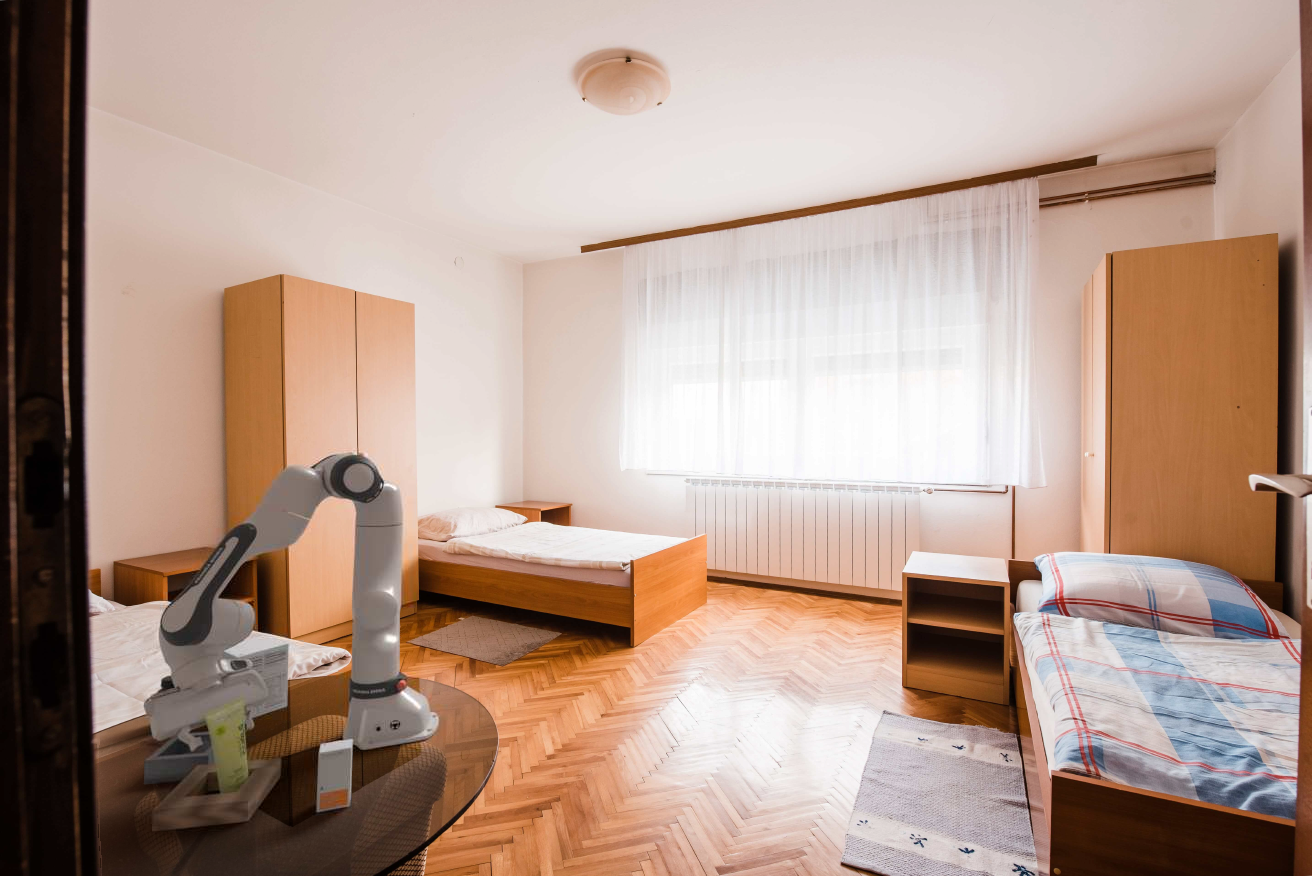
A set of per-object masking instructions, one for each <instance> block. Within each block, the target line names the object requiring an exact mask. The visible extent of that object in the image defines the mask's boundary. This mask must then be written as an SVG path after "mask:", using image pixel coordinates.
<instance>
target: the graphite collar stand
mask: <svg viewBox="0 0 1312 876" xmlns="http://www.w3.org/2000/svg"><path fill="white" fill-rule="evenodd" d="M189 734H191V735H192V736H194V737H195V738H198V737H201V741H202V742H203V746H202V747H201V748H200V749H197V750H195V751H191V749H190V746H189V744H186V743H185V742H183V741H181V740H179V738H178V735H175V736H172V737H170V739H169V740H168V741H166V743H164V744H163V745H162V746H161V747H159V748H158V749H157V750H155V752H153V753H152V754H151V755H150V756H149V757H147V758H146V759H145V760H144V767H143V768H144V770H143V773H144V774H143V779H144V780H143V785H151V784H152V785H153V784H163V783H164V784H165V783H172V782H174V783H175V782H182V781H183V780H184V779H185V778H186V777H187V776H188V775H189V774H190V773H191V772H192V771H193V770H194V769H195V768H196V767H197V766H198V765H207V764H215V759H214V754H213V749H212V744H211V739H210V735H209V731H202V732H201V731H199V732H197V731H196V732H189Z"/></svg>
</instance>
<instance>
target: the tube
mask: <svg viewBox="0 0 1312 876" xmlns="http://www.w3.org/2000/svg"><path fill="white" fill-rule="evenodd" d="M205 720H206V723H207V725H206V726H207V732H209V735H210V739H211V744H212V749H213V754H214V759H215V764H216V770H217V776H218V782H219V789H220V791H219V794H223V793H233V792H237V791H238V790H239V788H240V787H241V786H242V785H243V784H244V782H245V781H246V780H247V779H248V777H249V776H248V765H247V761H248V755H247V754H248V753H247V742H246V739H247V738H246V731H245V717H244V696H243V697H241V698H239V699H237V700H235V701H233V702H231V703H228V704H226V705H224V706H222V707H220V708H218V709H216V710H214V711H212V712H210V713H207V714H205Z"/></svg>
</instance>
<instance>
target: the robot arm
mask: <svg viewBox="0 0 1312 876" xmlns="http://www.w3.org/2000/svg"><path fill="white" fill-rule="evenodd" d="M329 497H333V498H336V499H341V500H346V499H347V500H350V501H351V502H352V503H353V505H354V508H355V509H354V510H355V521H354V524H355V527H354V556H353V557H354V559H353V573H352V574H353V577H352V596H351V611H352V616H353V617H352V618H353V619H352V621H353V623H352V642H351V643H352V644H351V677H350V678H349V681H348V682H349V683H348V702H349V707H348V714H347V720H346V724H345V727H344V731H343V733H342V740H349V739H353V746H356V747H358V749H360V750H363V751H364V750H372V749H377V748H383V747H388V746H396V745H402V744H406V743H407V744H408V743H412V742H413V743H414V742H418V741H423V740H427V739H429V738H430V737H432V736H434V734H435V733H436V732H437V729H439V725H440V719H439V715H438V713H436V712H434V711H431V709H430V704H429V701H428V699H427V697H426V696H425V695H423V694H421V693H419V692H418V691H417V690H415V689H413V688H412V687H409V686H408V672H405V674H404V673H403V672H401V671H400V643H401V642H400V641H401V640H400V638H401V636H400V635H401V634H400V633H401V632H400V631H401V630H400V628H401V624H400V620H401V619H400V616H401V615H400V613H401V608H402V582H403V581H402V576H403V572H402V571H403V570H402V569H403V568H402V566H403V565H402V563H403V562H402V561H403V558H402V557H403V529H404V527H403V525H404V523H403V522H404V520H403V517H404V515H403V514H404V513H403V503H402V502H403V501H402V496H401V491H400V487H398V485H397V484H395V483H394V482H392V481H390V480H384V479H383V478H382V476H381V474H380V472H379V470H378V468H377V466H376V465H375V463H374V462H373V461H372V460H370V458H367V457H366V456H364V455H359V454H355V453H354V454H353V453H348V452H347V453H340V454H338V453H336V454H332V455H329V456H327V457H324V458H323V459H321V460H320V461H318V462H317V463H315V464H313V465H312V466H310V467H309V466H307V465H301V464H294V465H289V466H287V467H286V468H284V469H283V470H282V471H281V472H280V473H279V475H277V477H276V478H275V479H274V480H273V482H272V483H271V484H270V486H269V487H268V488H267V490H266V492H265V493H264V494H263V496H262V498H261V500H260V502H259V503H258V505H257V506H256V508H255V509H254V510H253V512H252V513H251V514H250V515H249V516H248V517H247V519H246V520H244V521H243V522H242V523H241V524H239V525H237V526H236V525H235V526H234V527H233V528H232V529H231V530H229V532H228V533H227V534H225V536H224V537H223V538H222V539H221V541H220V542H219V543H218V545H217V546H216V547H215V549H214V550H213V551H212V553H211V554H210V555H209V557H207V559H206V561H205V562H204V563H203V565H201V567H200V568H199V570H198V571H197V573H196V574H195V575H194V576H193V578H192V579H191V580H190V582H189V583H188V584H187V586H186V587H185V588H184V589H183V590H182V591H181V592H180V593H179V594H178V595H177V596H176V597H175V598H174V599H173V600H172V601H170V603H169V604H168V605H167V607H166V608H165V609H164V611H163V613H162V614H161V616H160V617H161V618H160V622H159V628H158V642H159V646H160V651H161V654H162V657H163V660H164V662H165V664H166V665H168V667H169V668H170V671H171V672H170V675H171V678H172V681H173V684H174V687H175V688H172V689H169V690H166V691H164V692H160V693H157V692H155V693H153V694H151V695H150V696H149V697H148V698H146V700H144V703H143V710H144V712H145V714H146V716H149V724H150V731H151V734H152V735H151V736H152V738H153V739H155V740H156V741H158V742H159V741H164V740H166V739H169V738H173V737H174V736H175V735H178V738H179V740H181V741H183V742H185V743H186V744H189V746H190V749H191V751H195V750H197V749H200V748H201V747H202V746H203V742H202V741H201V737H198V738H195V737H194V736H192V735H191V734H189V733H191V731H192V730H195V729H199V728H200V727H204V726H207V723H206V720H205V714H207V713H210V712H212V711H214V710H216V709H218V708H220V707H222V706H224V705H226V704H228V703H231V702H233V701H235V700H237V699H239V698H241V697H243V696H244V716H246V715H247V717H246V720H245V732H248V731H251V730H253V728H255V723H254V719H253V718H252V717H253V713H254V709H255V708H256V707H259V706H261V705H262V704H263V703H264V702H265V701H266V699H267V697H268V695H269V691H268V689H267V686H266V684H265V682H264V681H263V679H262V677H261V676H260V674H259V673H258V672H257V671H255V670H251V668H252V666H253V664H252V662H251V660H249V659H235V660H234V659H222V658H221V655H220V654H221V652H222V651H224V650H227V649H229V648H231V647H233V646H235V645H237V644H238V643H240V642H242V641H245V640H247V638H248V637H249V636H250V635H251V634H252V632H253V631H254V629H255V626H256V621H257V615H256V611H255V609H254V607H253V605H251V603H249V602H247V601H243V600H237V599H231V598H221V597H220V596H221V593H222V592H223V591H224V590H225V588H226V587H227V585H228V583H230V582H231V579H232V578H233V577H234V575H235V574H236V573H237V571H239V569H240V567H241V566H242V565H243V564H245V562H247V561H248V560H250V559H251V558H253V557H256V556H258V555H261V554H264V553H270V552H275V551H280V550H283V549H287V548H288V547H290V546H293V544H295V543H297V542H298V540H299V539H300V538H301V537H302V536H303V534H304V533H305V531H306V529H307V528H308V525H309V523H310V521H311V519H312V518H313V516H314V514H315V511H316V509H317V508H318V507H319V506H320V504H321V503H322V502H323V501H324V500H326V499H327V498H329ZM219 597H220V598H219Z"/></svg>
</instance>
